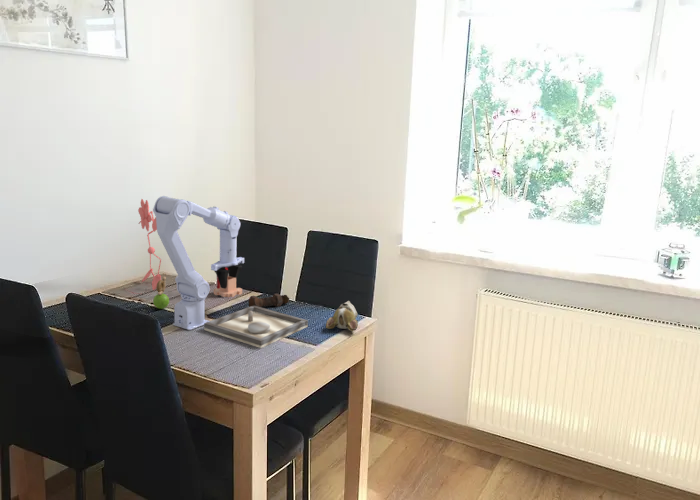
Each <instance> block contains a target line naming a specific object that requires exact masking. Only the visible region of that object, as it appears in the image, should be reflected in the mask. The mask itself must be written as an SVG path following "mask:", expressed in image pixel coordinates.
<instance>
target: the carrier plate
mask: <svg viewBox="0 0 700 500" xmlns="http://www.w3.org/2000/svg"><path fill="white" fill-rule="evenodd" d="M208 321H209V322H206V323H204V325H203V329H204V331H206V332H209V333H212V334H216V335H219V336H221V337H223V338H228V339H231V340H234V341H238V342H240V343H244V344H247V345H250V346H253V347H256V348H259V349H263V348H265V347H267V346H269V345H271V344H273V343H275V342H277V341H280V340H282V339H284V338H287V337H289V336H291V335H293V334H295V333H297V332H300V331H302V330H303V329H306V328H308V326H309V322H308V321H309V320H308V319H304V318H302V317H297V316H295V315H290V314H286V313H282V312H280V311H275V310H272V309H268V308H265V307H258V306H254V305H253V306H251V307H249V306H248V307H245V308H243V309H240V310H237V311H234V312H232V313H230V314H225V315H223V316H221V317H218V318H215V319H212V320H208Z"/></svg>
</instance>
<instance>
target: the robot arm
mask: <svg viewBox="0 0 700 500" xmlns="http://www.w3.org/2000/svg"><path fill="white" fill-rule="evenodd" d="M152 212H153V214H154V216H155V218H156V223H157V230H156V233H157V235H158V237H159V239H160V241H161V243H162V245H163V248H164V250H165V251H166V254H167V255H168V257H169V260H170V262H171V263H172V266H173V268H174V271H176V274H177V275H176V277H175V279H174V280H175V283H176V290H177V292H178V293H179V294H180V298H181V299H180V301H178V302H176V303H175V304H174V308H173V309H174V322H173V323H172V325H173V326H175V327H178V328H182V329H185V330H188V331H191V330H193V329H196V328H199V327H202V326H204V323H206V322H209V321H210V320H207V319H205V305H206V304H205V300H206V299H207V297H208V296H209V293H210V288H211V287H210V284H209V282H208V281H207V280H205V278H204V277H203V275H201V274H200V273H199V272H198V271H196V270H195V267H194V265H193V263H192V261H191V259H190V256H189V254H188V252H187V249H186V247H185V245H184V243H183V241H182V240H181V237H180V234H179V233H178V231H179V230H180V229H181V228H182V226H183V224H184V222H185V221H186V219H187V218H188V216H191V215H194V216H196V217H199V218H202V220H203V222H204V223H205V224H207V225H209V226H212V227H214V228H217V230H219V260H218V261H216V262H214V263H212V264H210V270H211V271H214V273H215V274H216V278H217V277H218V279H219V283H220V287H221V288H224V289H225V288H226V287H227V278H228V274H229V276H231V277H235V278H236V282H237V279H238V276H239V274H240V272H241V270H242V269H243V265H242V264H244V263H245V257H242V256H239V257H237V249H238V247H237V244H238V243H237V242H238V241H237V237H238V235H239V230H240V228H241V223H242V222H241V221H240V219H239V218H238V216H237V215H233V214H229V212H228V211H225V210H224V211H222V210H220V207H218V206H215V205H214V206H210V207H208V208H206V207H203V206H202V205H200V204H198V203H195V202H194V201H190V200H187V199H179V198H173V197H168V196H165V195H162V196H159V197H158V198H157V199H156V200H155V203H154V205H153V208H152ZM225 267H227V268H228V270H226V269H225Z"/></svg>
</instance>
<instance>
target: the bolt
mask: <svg viewBox="0 0 700 500" xmlns="http://www.w3.org/2000/svg"><path fill="white" fill-rule="evenodd" d="M288 303H290V297H289V296H288V295H287V294H283V295H281V294H280V293H274V294H273V295H272V296H269V297H258V296H255V295H250V297H249V299H248V307H251V306H253V305H254V306H258V307H261V308H265V307H270V306H274V307H277V308H279V307H282V305H285V304H288Z"/></svg>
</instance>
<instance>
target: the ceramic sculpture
mask: <svg viewBox="0 0 700 500" xmlns="http://www.w3.org/2000/svg"><path fill="white" fill-rule="evenodd" d="M339 305H340V306H339V307H338V308H337V309H336V310H335V311H334V314H333V316H331V317H329V318H328V319H327V320H326V323H325V329H330V330H333V329H335V327H337V328H338V329H339V330H340V329H341V330H349V331H352V332H355V331H356V330H357V328H358V325H359V322H358V320H357V317H358V312H357V310H356V308H355V306H354V305H353V304H352V303H351V301H350V300H347V301H346V302H344V303H341V304H339Z"/></svg>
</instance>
